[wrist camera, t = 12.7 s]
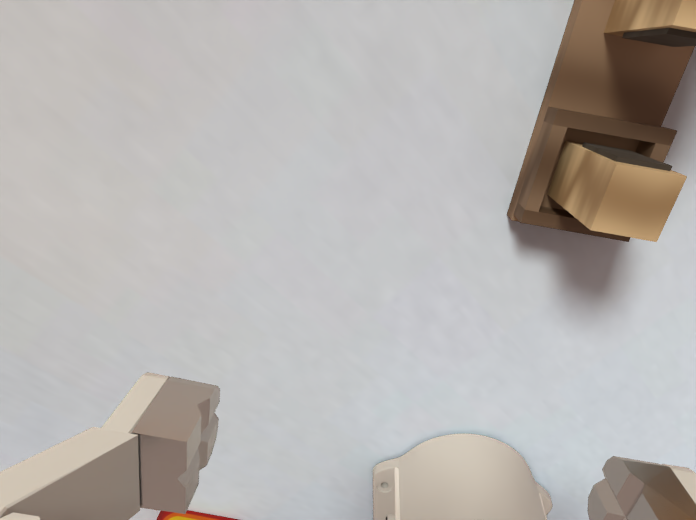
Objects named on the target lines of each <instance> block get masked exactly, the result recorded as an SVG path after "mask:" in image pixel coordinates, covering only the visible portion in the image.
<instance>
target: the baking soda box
mask: <svg viewBox="0 0 696 520" xmlns="http://www.w3.org/2000/svg"><path fill="white" fill-rule="evenodd" d="M157 520H238V519H233V518H227V517H222V516H216V515H210V514H205V513H199V512H194V511H188V510H187V511H186V514H181V513H174V512H167V511H161V512H160V514H159V516H158V518H157Z"/></svg>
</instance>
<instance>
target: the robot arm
mask: <svg viewBox="0 0 696 520" xmlns="http://www.w3.org/2000/svg"><path fill="white" fill-rule="evenodd" d="M219 402H220V388H219V387H218V386H216V385H211V384H206V383H201V382H196V381H191V380H186V379H181V378H176V377H169V376H164V375H159V374H154V373H149V372H147V373H146V374H144V375H142V376H141V377H140V378H139V379H138V381H137V382H136V383H135V385H134V386H133V387H132V389H131V390H130V391H129V392H128V394H127V395H126V396H125V398H124V399H123V400H122V401H121V403H120V404H119V405H118V407H117V408H116V409H115V411H114V412H113V413H112V414H111V416H110V417H109V418H108V420H107V421H106V422H105V424H104V425H103V426H102V427H101V428H97V427H92V428H90V429H88V430H86V431H84V432H82V433H80V434H78V435H76V436H74V437H72V438H70V439H67V440H65V441H63V442H61V443H59V444H57V445H55V446H53V447H51V448H49V449H47V450H45V451H43V452H41V453H39V454H37V455H34V456H32V457H30V458H28V459H26V460H24V461H22V462H20V463H18V464H16V465H14V466H12V467H10V468H8V469H6V470H4V471H2V472H0V520H129V519H130V518H131V517H132V516H134V515H135V514H136V513H137V512H139V511H140V508H147V509H154V510H161V511H167V512H174V513H181V514H186V511H187V509H188V507H189V505H190V502H191V500H192V498H193V495H194V493H195V491H196V489H197V486H198V484H199V470H201V469H202V468H204V467H205V466H207V463H208V461H209V459H210V456H211V454H212V451H213V447H214V444H215V441H216V436H217V430H218V420H219V418H218V417H217V415H216V414H215V410H216V408H217V406H218V404H219ZM602 471H603V473H604V476H605V479H603V480H602V481H600V482H598V483H596V484H595V485H594V486H593V488H592V490H591V492H590V494H589V497H588V515H589V520H696V473H695V472H693V471H692V470H691V469H689V468H685V467H679V466H672V465H666V464H658V463H652V462H646V461H640V460H634V459H628V458H622V457H616V456H613V457H611V458H610V459H608V460H607V461H606V463H605V465H604V467H603V469H602ZM551 509H552V501H551V497H550V495H549V493H548V492H547V491H546V490H545V489H544V488H543V487H542V486H540V485H539V484H538V483H537V482H536V481H535V480H534V478H533V476H532V474H531V471H530V469H529V466H528V464H527V463H526V461H525V460H524V459H523V457H522V456H521V455H520V454H519V453H518V452H517V451H516V450H514V449H513V448H512V447H510V446H509V445H507V444H505V443H503V442H501V441H499V440H496V439H493V438H490V437H487V436H482V435H476V434H450V435H444V436H440V437H436V438H433V439H430V440H427V441H425V442H423V443H421V444H419V445H417V446H416V447H414V448H413V449H411V450H410V451H409V452H407V453H406V454H404V455H403V456H401V457H399V458H395V459H391V460H387V461H384V462H381V463H379V464H377V465H376V466H375V467H374V468H373V520H547V517H546V515H547V514H548V513H549V511H550V510H551Z"/></svg>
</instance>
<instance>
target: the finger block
mask: <svg viewBox="0 0 696 520" xmlns="http://www.w3.org/2000/svg"><path fill="white" fill-rule="evenodd" d="M671 168H672V166H671V165H668V164H665V163H662V162H660V161H657V160H654V159H652V158H649V157H646V156H644V155H641V154H638V153H636V152H633V151H630V150H624V149H619V148H613V147H608V146H602V145H596V144H591V143H585V142H584V143H583V144H580V143H575V142H569V141H565V144H564V147H563V150H562V153H561V156H560V159H559V162H558V165H557V167H556V170H555V173H554V176H553V179H552V182H551V185H550V188H549V191H548V193H547V195H549V196H550V197H551V198H552V199H553V200H555V201H556V202H557V203H558V204H559V205H561V206H562V207H563V208H564V209H565V210H567V211H568V212H569V213H570V214H571V215H573V216H574V217H575V218H576V219H578V220H579V221H580V222H581V223H582V224H584V225H585V226H586V227H587V228H588V229H590V230H592V231H598V232H604V233H609V234H615V235H620V236H626V237H632V238H637V239H643V240H648V241H654V242H657V240H658V238H659V236H660V234H661V231H662V229H663V227H664V225H665V223H666V221H667V219H668V216H669V214H670V212H671V210H672V208H673V206H674V204H675V201H676V199H677V197H678V195H679V193H680V191H681V188H682V186H683V184H684V182H685V180H686V178H687V176H685V175H682V174H680V173H677V172H674V171H672V170H671Z"/></svg>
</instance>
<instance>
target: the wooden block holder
mask: <svg viewBox="0 0 696 520" xmlns="http://www.w3.org/2000/svg"><path fill="white" fill-rule="evenodd" d="M695 46H696V0H574V4H573V7H572V10H571V13H570V16H569V19H568V23H567V26H566V29H565V32H564V35H563V38H562V42H561V45H560V48H559V51H558V54H557V57H556V61H555V64H554V67H553V70H552V73H551V76H550V79H549V83H548V86H547V89H546V92H545V95H544V98H543V102H542V105H541V108H540V111H539V114H538V117H537V121H536V124H535V127H534V130H533V133H532V136H531V140H530V143H529V146H528V149H527V152H526V155H525V159H524V162H523V165H522V168H521V171H520V174H519V178H518V181H517V184H516V187H515V190H514V193H513V197H512V200H511V203H510V206H509V209H508V212H507V215H508V216H509V218H510V219H511V220H513V221H519V222H520V223H526V224H532V225H537V226H543V227H548V228H554V229H560V230H565V231H571V232H576V233H582V234H588V235H593V236H599V237H605V238H610V239H616V240H621V241H627V242H629V240H630V237H626V236H620V235H615V234H609V233H604V232H598V231H592V230H590V229H588V228H587V227H586V226H585V225H584V224H582V223H581V222H580V221H579V220H578V219H576V218H575V217H574V216H573V215H571V214H570V213H569V212H568V211H567V210H565V209H564V208H563V207H562V206H561V205H559V204H558V203H557V202H556V201H555V200H553V199H552V198H551V197H550V196H549V195H547V193H548V191H549V188H550V185H551V182H552V179H553V176H554V173H555V170H556V167H557V165H558V162H559V159H560V156H561V153H562V150H563V147H564V144H565V141H569V142H575V143H580V144H583V143H584V142H585V143H591V144H596V145H602V146H608V147H613V148H619V149H624V150H630V151H633V152H636V153H638V154H641V155H644V156H646V157H649V158H652V159H654V160H657V161H660V162H662V163H663V162H664V160H665V158H666V155H667V153H668V151H669V148H670V146H671V144H672V142H673V139H674V137H675V135H676V132H677V130H673V129H669V128H665V127H661V125H662V123H663V120H664V118H665V116H666V113H667V111H668V108H669V106H670V104H671V101H672V99H673V97H674V94H675V92H676V90H677V87H678V85H679V82H680V80H681V78H682V75H683V73H684V71H685V68H686V66H687V64H688V61H689V59H690V56H691V54H692V52H693V49H694V47H695Z"/></svg>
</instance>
